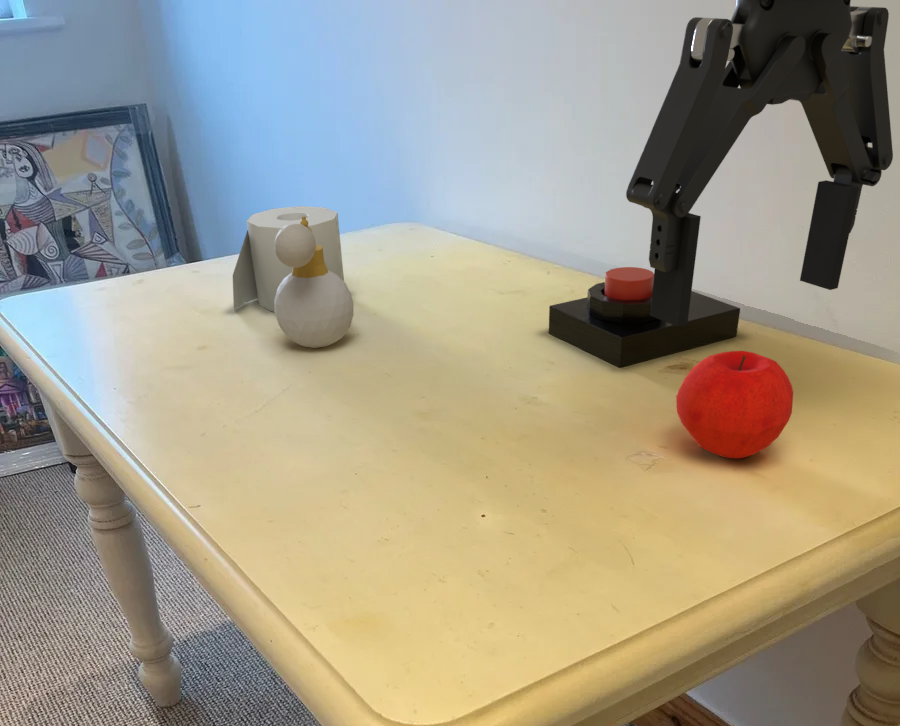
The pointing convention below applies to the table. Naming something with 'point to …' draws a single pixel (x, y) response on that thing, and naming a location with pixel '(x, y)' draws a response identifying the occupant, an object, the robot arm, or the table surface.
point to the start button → (629, 283)
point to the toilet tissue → (258, 259)
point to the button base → (638, 326)
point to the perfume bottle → (309, 291)
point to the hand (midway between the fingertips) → (746, 302)
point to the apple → (735, 403)
